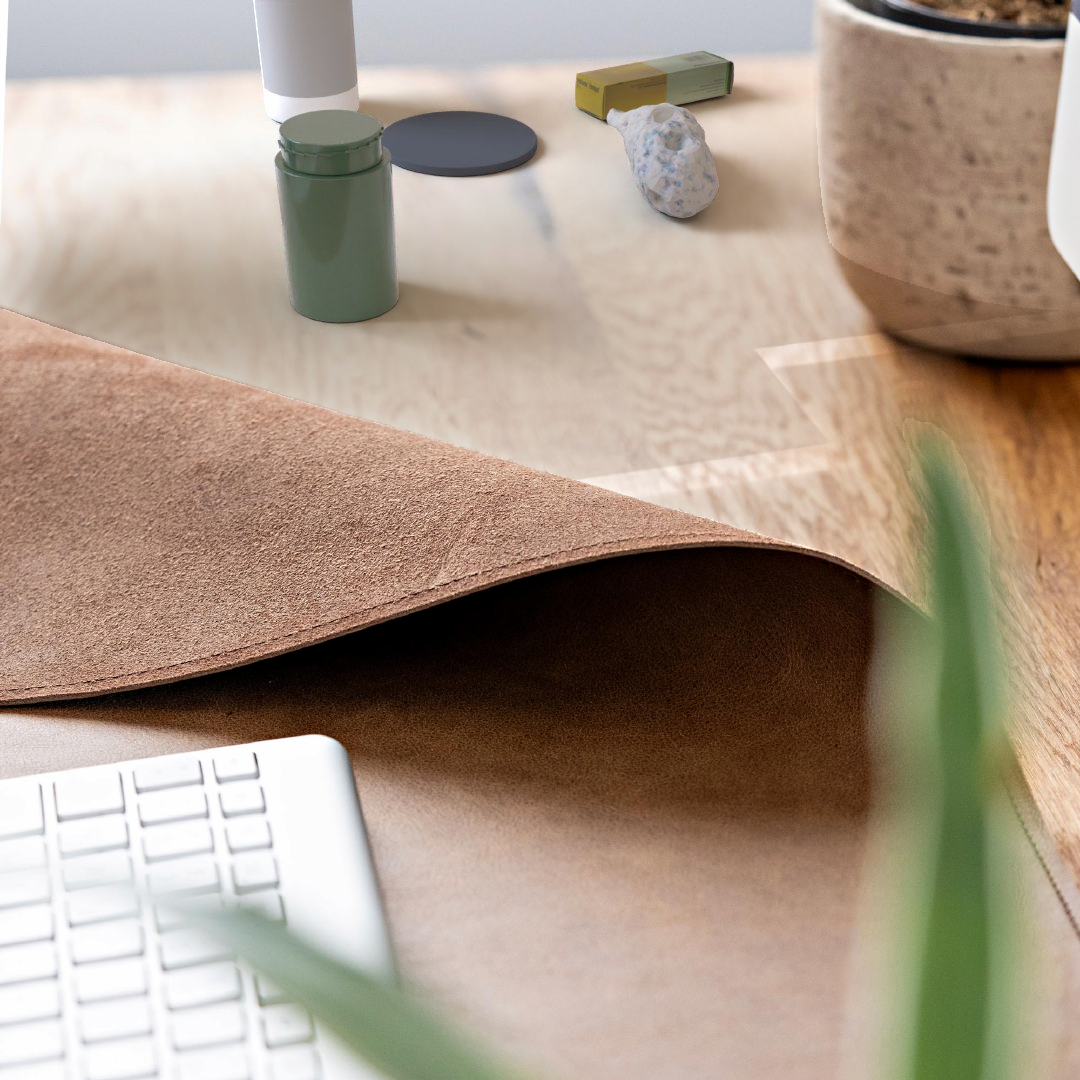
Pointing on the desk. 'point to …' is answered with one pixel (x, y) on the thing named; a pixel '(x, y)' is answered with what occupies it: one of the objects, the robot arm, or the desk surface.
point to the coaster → (459, 143)
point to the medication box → (654, 83)
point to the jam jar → (337, 215)
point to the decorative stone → (668, 157)
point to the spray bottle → (307, 56)
